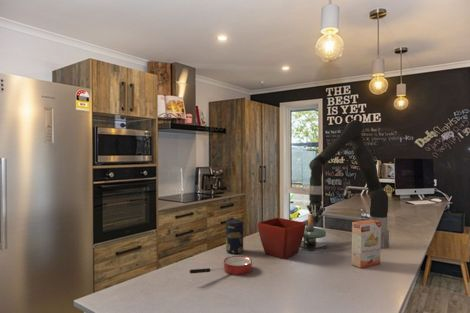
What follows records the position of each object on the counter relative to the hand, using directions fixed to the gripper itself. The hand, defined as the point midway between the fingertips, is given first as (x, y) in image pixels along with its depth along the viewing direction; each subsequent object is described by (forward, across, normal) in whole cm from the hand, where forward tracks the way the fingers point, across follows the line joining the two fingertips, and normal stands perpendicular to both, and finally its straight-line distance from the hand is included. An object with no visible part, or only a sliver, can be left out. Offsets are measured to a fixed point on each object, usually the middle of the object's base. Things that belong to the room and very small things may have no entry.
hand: (315, 222), depth 184 cm
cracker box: (+13, -38, +6) cm, 40 cm away
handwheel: (+6, -2, +7) cm, 9 cm away
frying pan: (+14, -12, +71) cm, 73 cm away
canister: (+14, +13, +49) cm, 52 cm away
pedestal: (+13, -2, +7) cm, 14 cm away
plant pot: (+13, -4, +30) cm, 33 cm away
